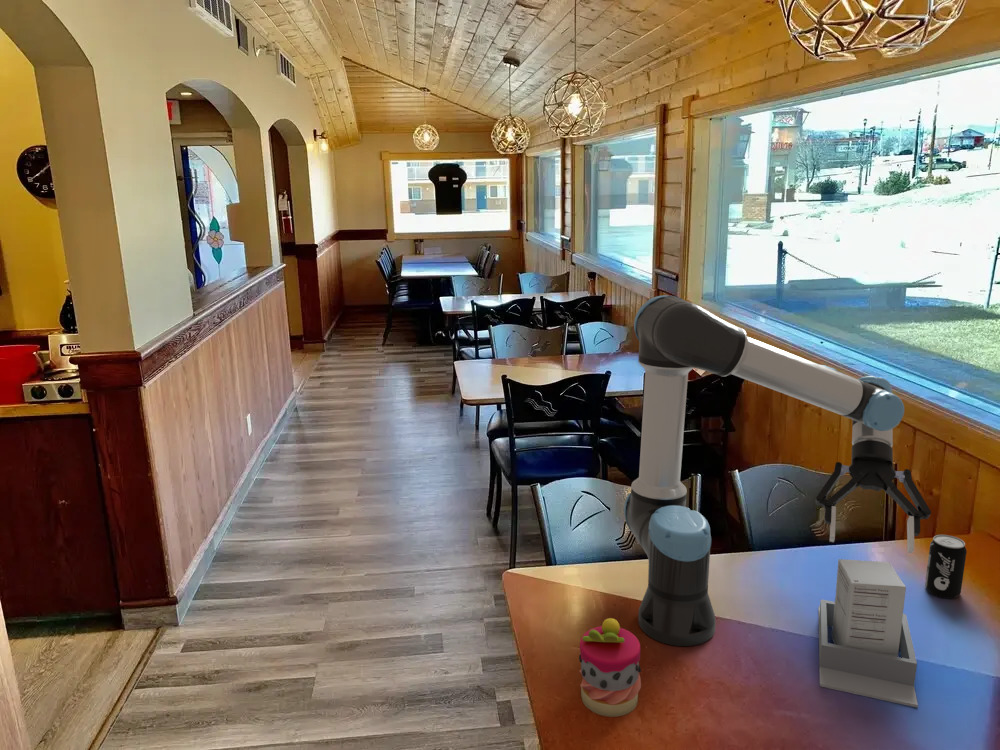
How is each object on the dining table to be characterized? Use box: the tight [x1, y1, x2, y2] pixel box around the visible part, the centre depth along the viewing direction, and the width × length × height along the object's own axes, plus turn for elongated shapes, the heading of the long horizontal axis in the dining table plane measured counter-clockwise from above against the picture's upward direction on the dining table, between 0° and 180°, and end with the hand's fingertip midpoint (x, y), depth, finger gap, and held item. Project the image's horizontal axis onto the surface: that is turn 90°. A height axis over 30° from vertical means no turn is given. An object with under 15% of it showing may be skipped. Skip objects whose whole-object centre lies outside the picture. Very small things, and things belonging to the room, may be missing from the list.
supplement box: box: [831, 558, 907, 657], centre depth 131 cm, size 10×9×17 cm
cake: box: [578, 617, 642, 718], centre depth 122 cm, size 10×11×15 cm
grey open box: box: [817, 599, 919, 709], centre depth 133 cm, size 15×26×5 cm, turn 157°
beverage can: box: [924, 534, 968, 599], centre depth 151 cm, size 7×7×12 cm
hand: (870, 545), depth 137 cm, fingers open, 13 cm apart
